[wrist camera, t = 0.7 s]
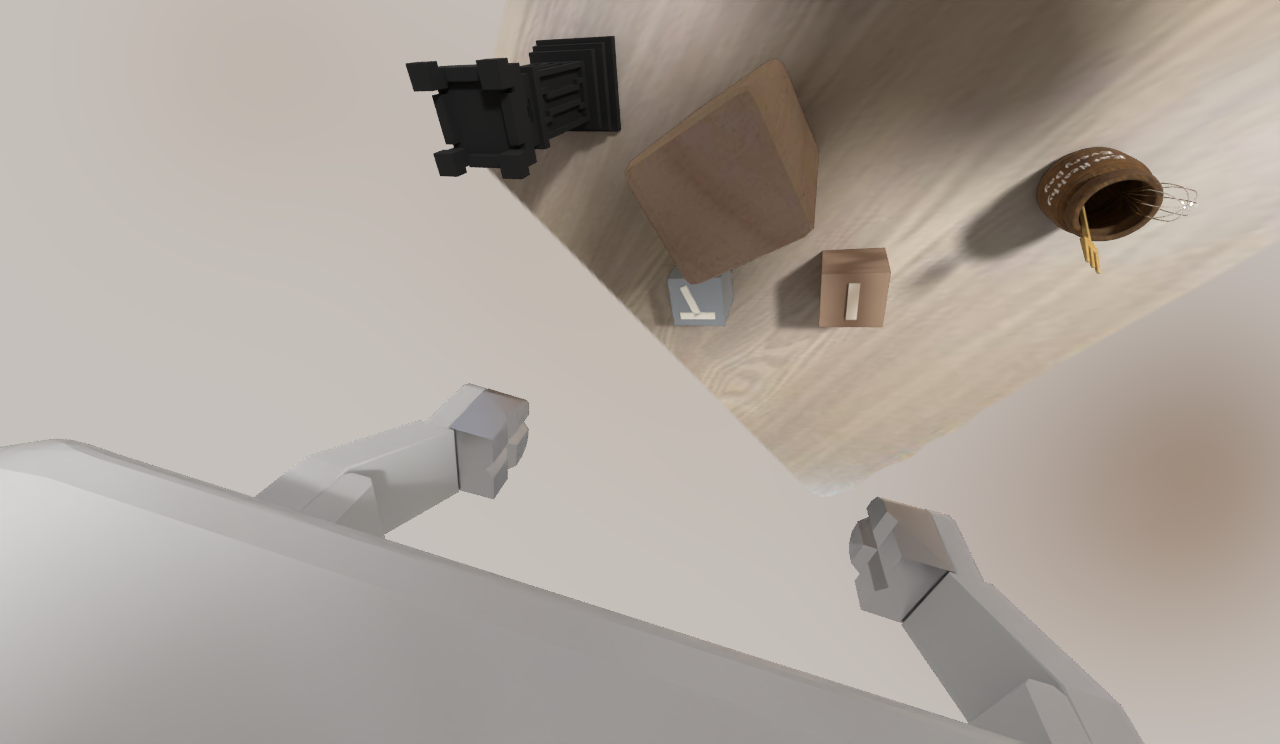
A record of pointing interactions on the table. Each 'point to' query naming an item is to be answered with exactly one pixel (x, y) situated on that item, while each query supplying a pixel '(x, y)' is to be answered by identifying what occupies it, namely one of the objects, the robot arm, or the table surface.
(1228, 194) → the table surface
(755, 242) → the block
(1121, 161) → the utensil holder
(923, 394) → the table surface
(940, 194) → the table surface
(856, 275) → the walnut numbered cube
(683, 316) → the slate numbered cube
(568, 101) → the chess piece
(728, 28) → the table surface
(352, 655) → the robot arm
